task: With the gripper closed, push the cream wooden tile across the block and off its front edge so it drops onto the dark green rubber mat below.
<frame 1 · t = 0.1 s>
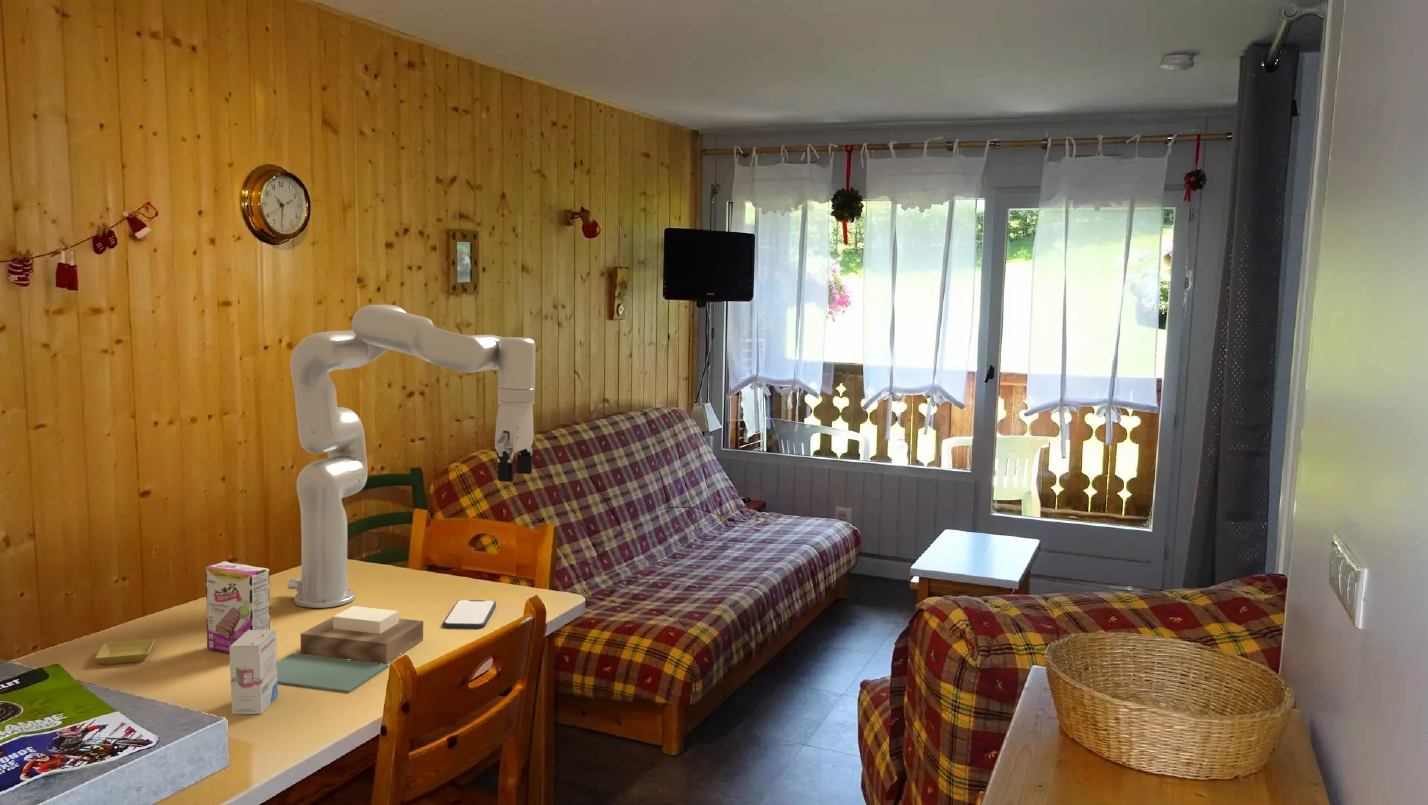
hand: (515, 477, 217), 31 cm above the table, tool pointing down, fingers open, 9 cm apart
yellow square dish: (126, 659, 192), on the table
candy bar box: (238, 651, 197), on the table
tile: (366, 619, 202), point 5 cm above the table, touching block
ink box: (254, 705, 173), on the table
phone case: (470, 619, 222), on the table
mat: (319, 673, 187), on the table
block: (363, 647, 201), on the table
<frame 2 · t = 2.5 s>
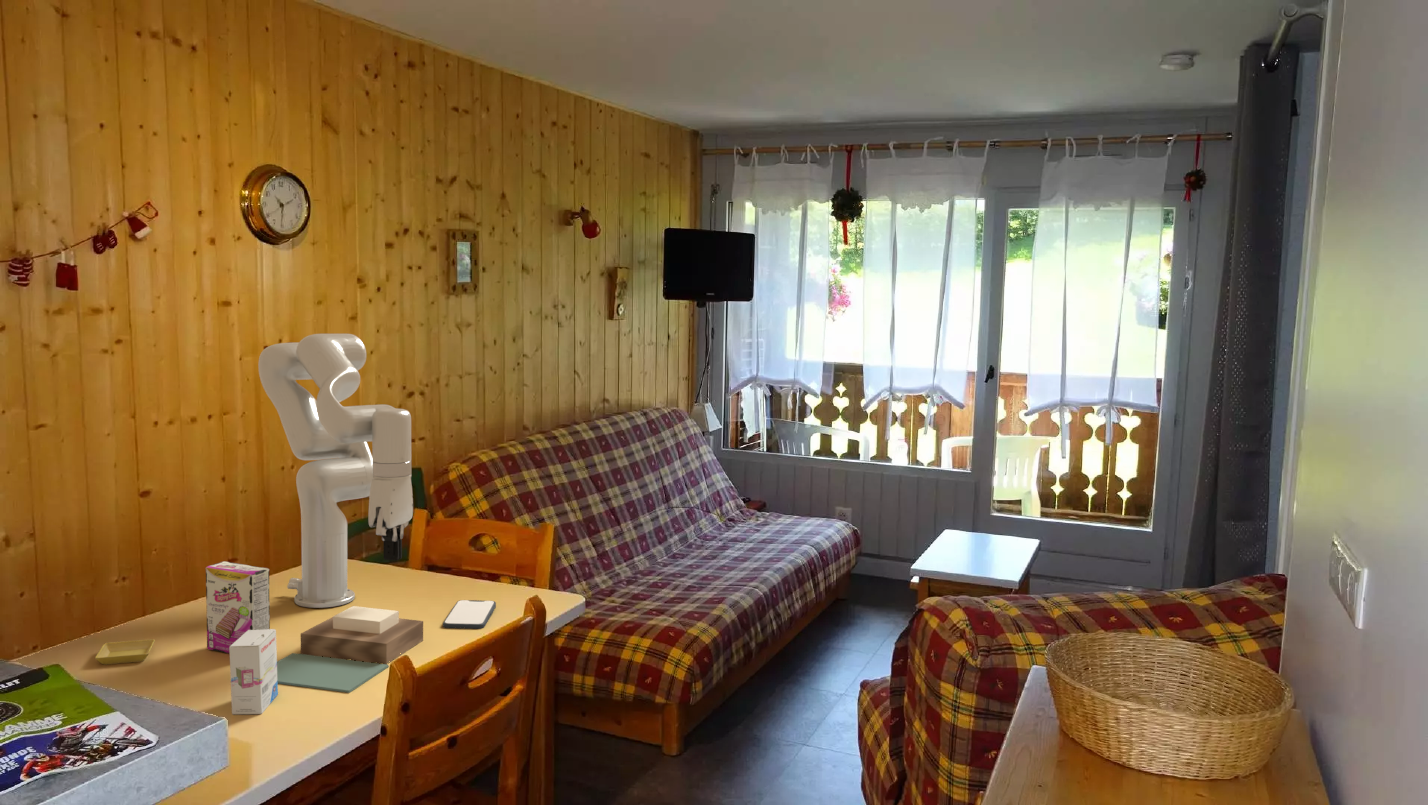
hand: (392, 558, 210), 15 cm above the table, tool pointing down, fingers closed
nothing on the table moved.
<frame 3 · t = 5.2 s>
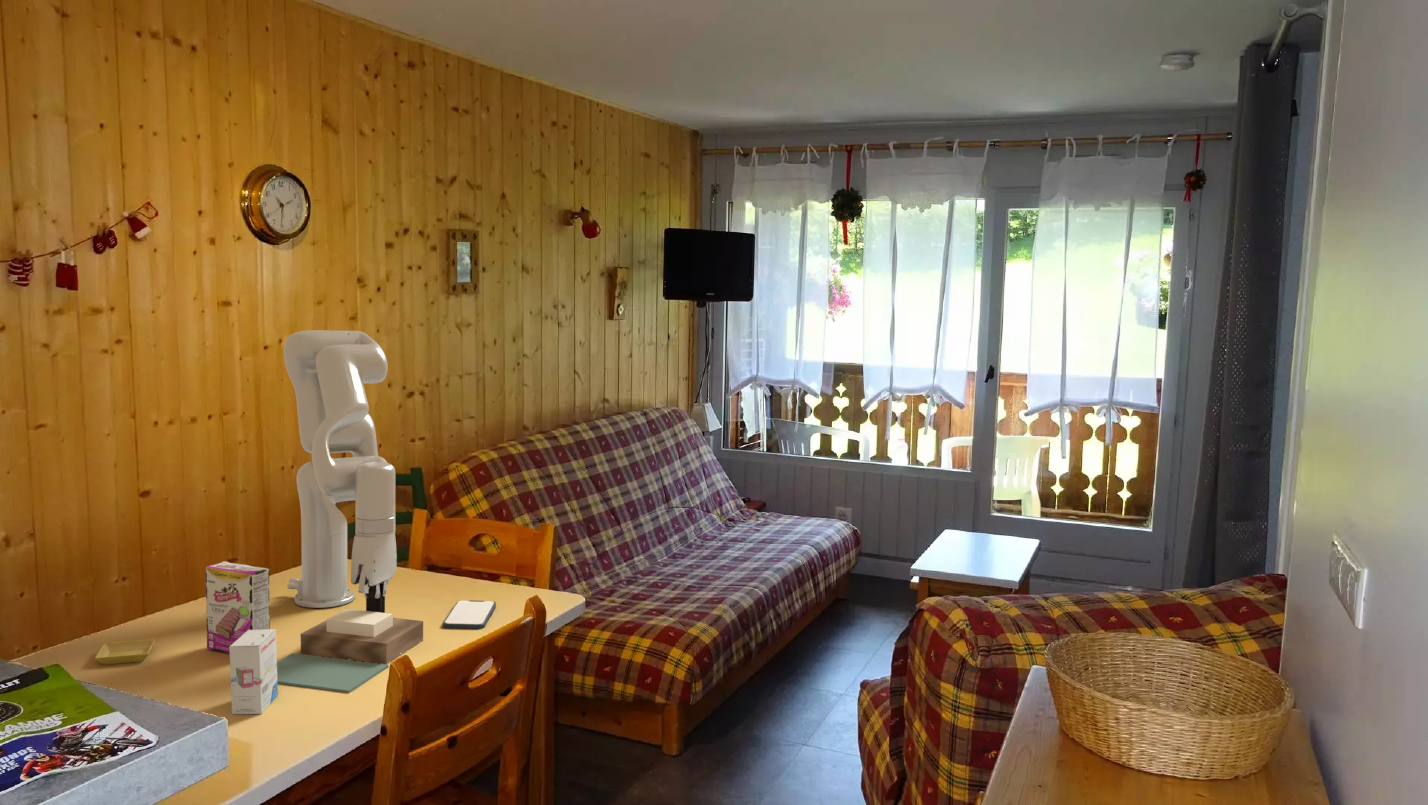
hand: (375, 615, 205), 5 cm above the table, tool pointing down, fingers closed
tile: (360, 622, 200), point 5 cm above the table, touching block
everything else where it was.
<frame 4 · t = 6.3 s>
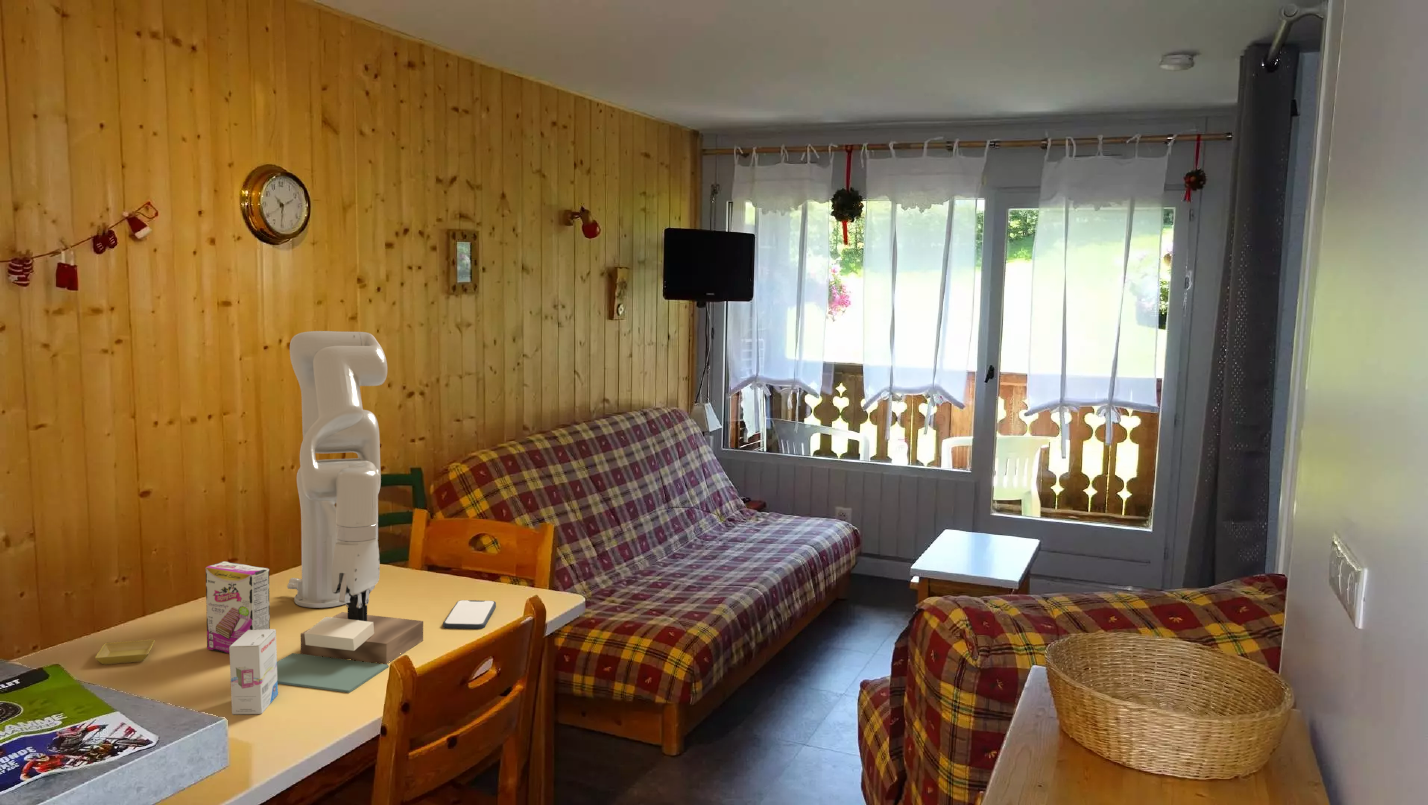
hand: (357, 625, 199), 5 cm above the table, tool pointing down, fingers closed
tile: (339, 633, 194), point 5 cm above the table, tilted 8°, touching block
everything else where it was.
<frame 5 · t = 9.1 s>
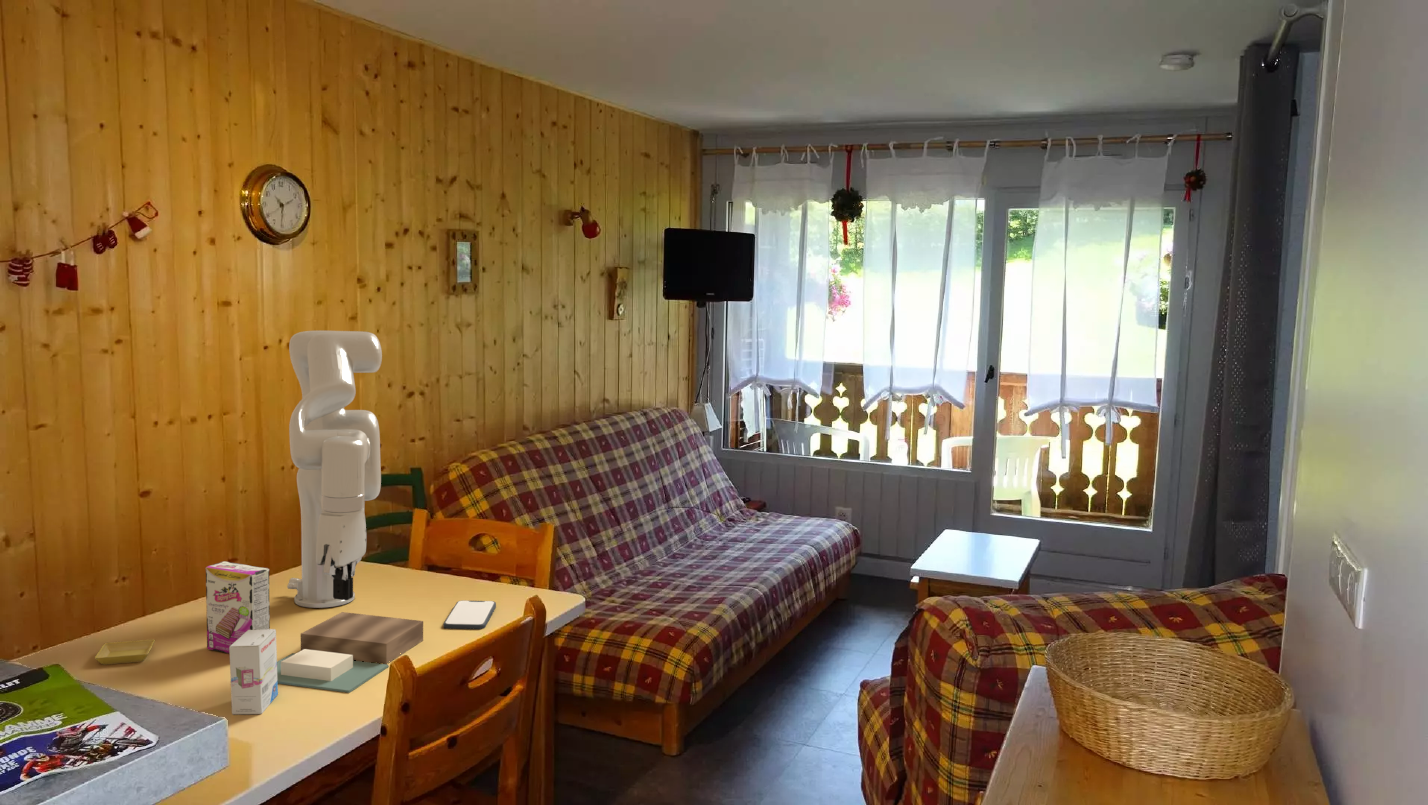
hand: (343, 598, 194), 12 cm above the table, tool pointing down, fingers closed
tile: (317, 664, 187), point 2 cm above the table, tilted 180°, touching mat
everything else where it was.
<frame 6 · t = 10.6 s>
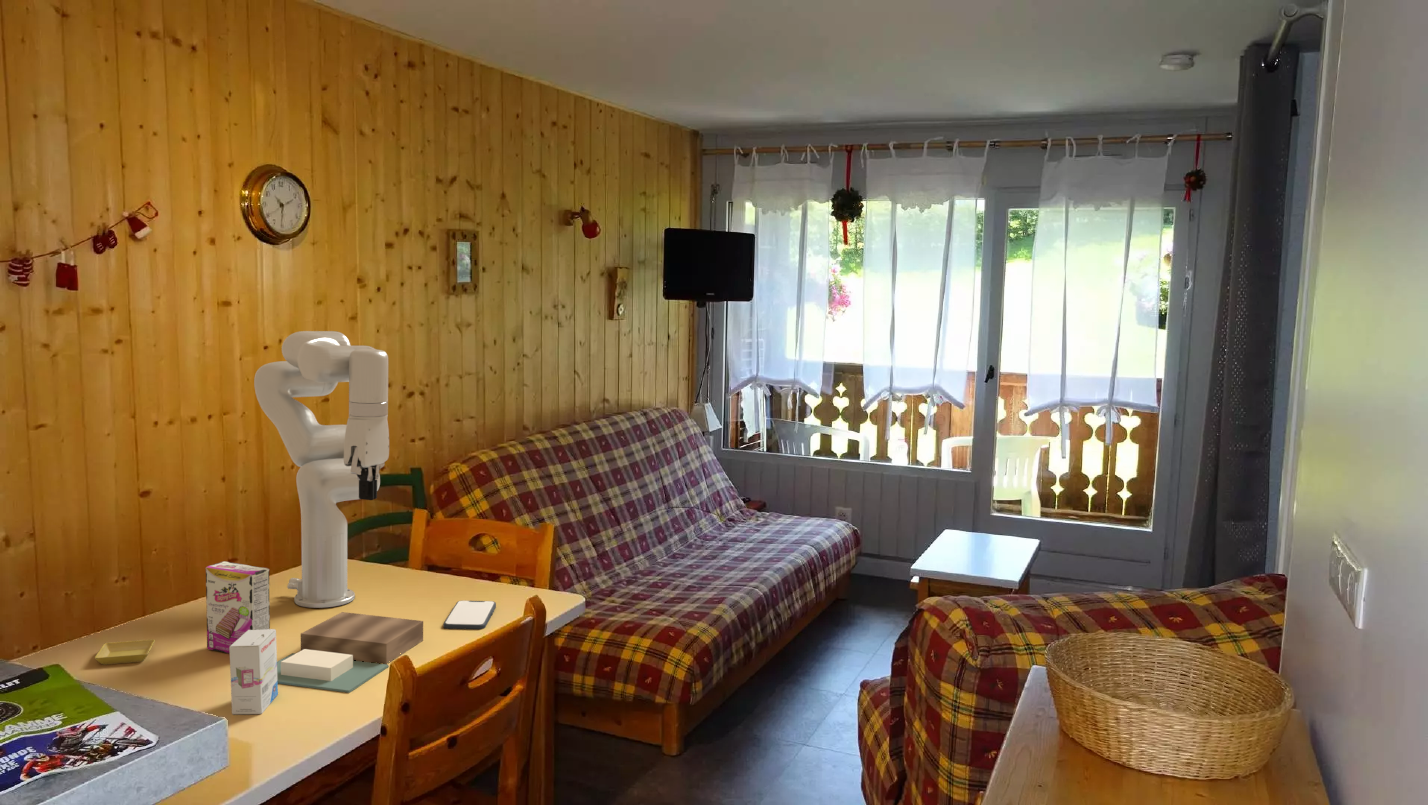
hand: (367, 498, 211), 27 cm above the table, tool pointing down, fingers closed
nothing on the table moved.
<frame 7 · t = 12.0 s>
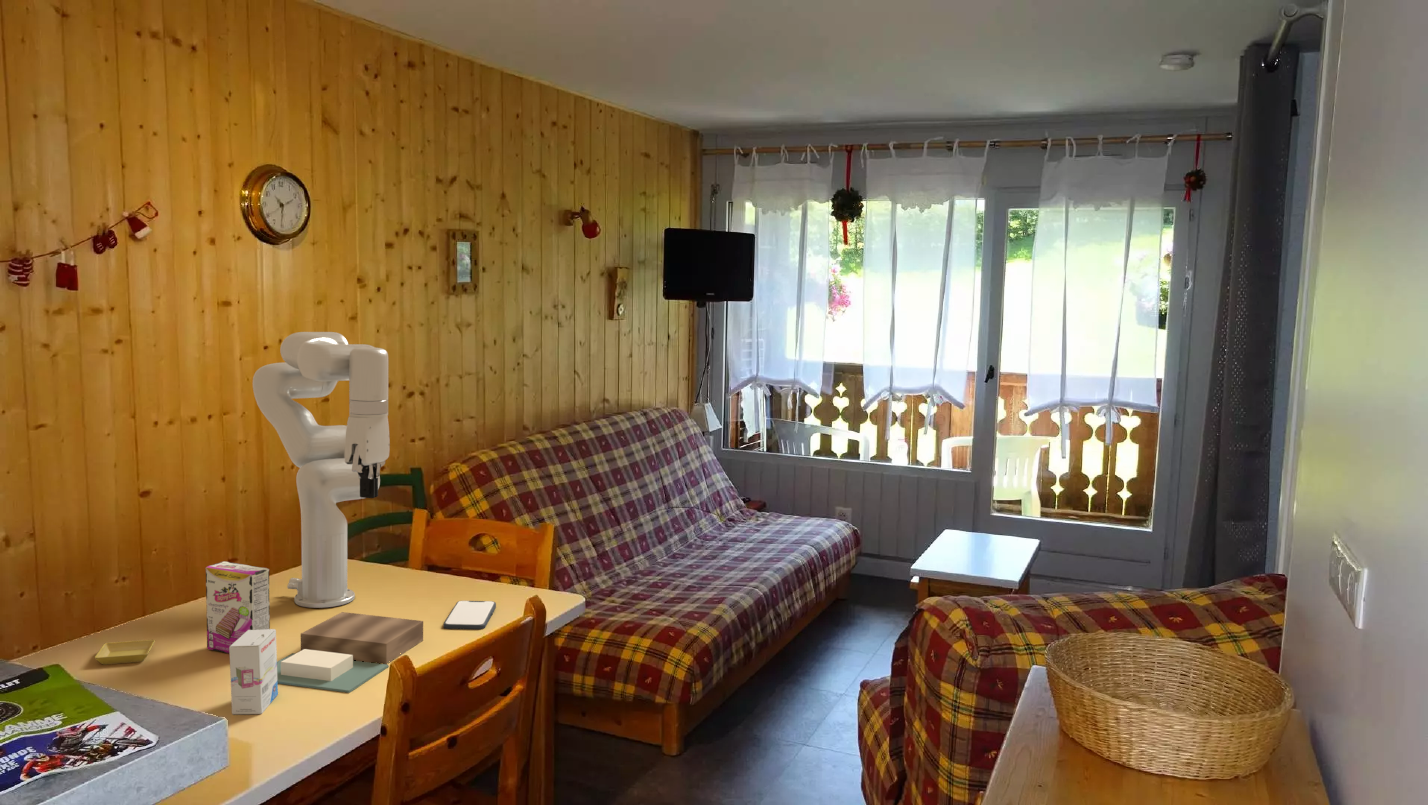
hand: (368, 496, 211), 27 cm above the table, tool pointing down, fingers closed
nothing on the table moved.
at the end: tile point 1.6 cm above the table; tile inside the target area on the mat (0.4 cm from its centre), point 1.6 cm above the mat's base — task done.
